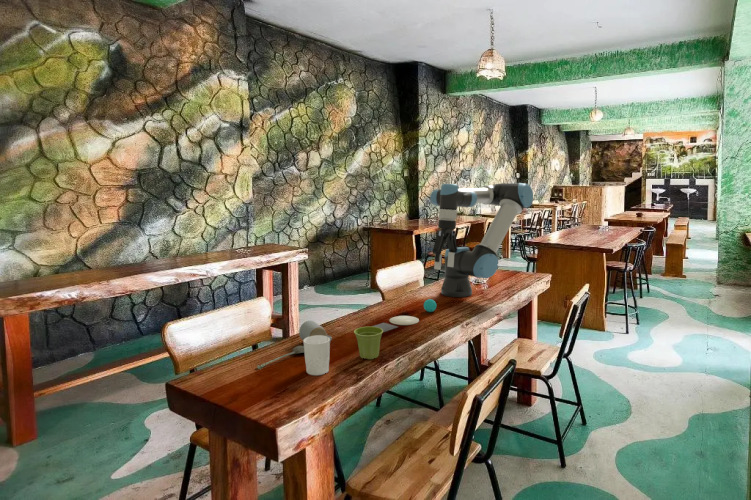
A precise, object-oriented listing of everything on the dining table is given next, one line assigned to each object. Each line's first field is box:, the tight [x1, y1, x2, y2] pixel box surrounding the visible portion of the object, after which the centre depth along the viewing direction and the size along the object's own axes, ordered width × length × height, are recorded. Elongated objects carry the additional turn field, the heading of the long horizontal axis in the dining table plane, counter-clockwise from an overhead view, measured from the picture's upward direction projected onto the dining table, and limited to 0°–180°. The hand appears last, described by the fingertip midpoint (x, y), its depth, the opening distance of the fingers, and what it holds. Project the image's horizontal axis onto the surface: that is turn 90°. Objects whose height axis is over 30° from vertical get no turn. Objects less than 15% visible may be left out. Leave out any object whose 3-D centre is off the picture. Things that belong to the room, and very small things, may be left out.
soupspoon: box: [256, 345, 304, 370], centre depth 155 cm, size 22×3×7 cm
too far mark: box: [371, 322, 399, 333], centre depth 185 cm, size 8×8×1 cm
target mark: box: [388, 315, 420, 326], centre depth 193 cm, size 12×12×1 cm
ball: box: [423, 298, 438, 313], centre depth 205 cm, size 6×6×6 cm
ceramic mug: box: [298, 320, 333, 342], centre depth 169 cm, size 11×8×8 cm
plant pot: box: [353, 326, 384, 360], centre depth 155 cm, size 9×9×9 cm
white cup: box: [302, 335, 331, 376], centre depth 144 cm, size 8×8×10 cm
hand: (444, 268), depth 209 cm, fingers open, 13 cm apart
